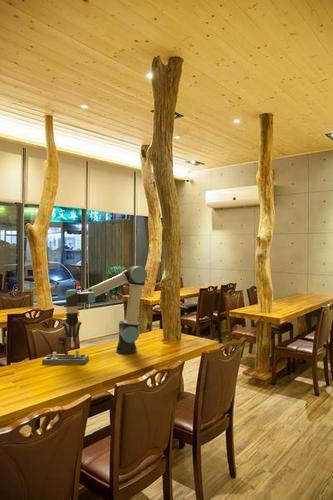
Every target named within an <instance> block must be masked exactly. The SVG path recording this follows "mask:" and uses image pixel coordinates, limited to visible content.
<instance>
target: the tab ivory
mask: <svg viewBox="0 0 333 500" xmlns="http://www.w3.org/2000/svg"><path fill="white" fill-rule="evenodd" d="M52 355H53V358H51V359H58V358H56V351H53V352H52Z"/></svg>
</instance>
